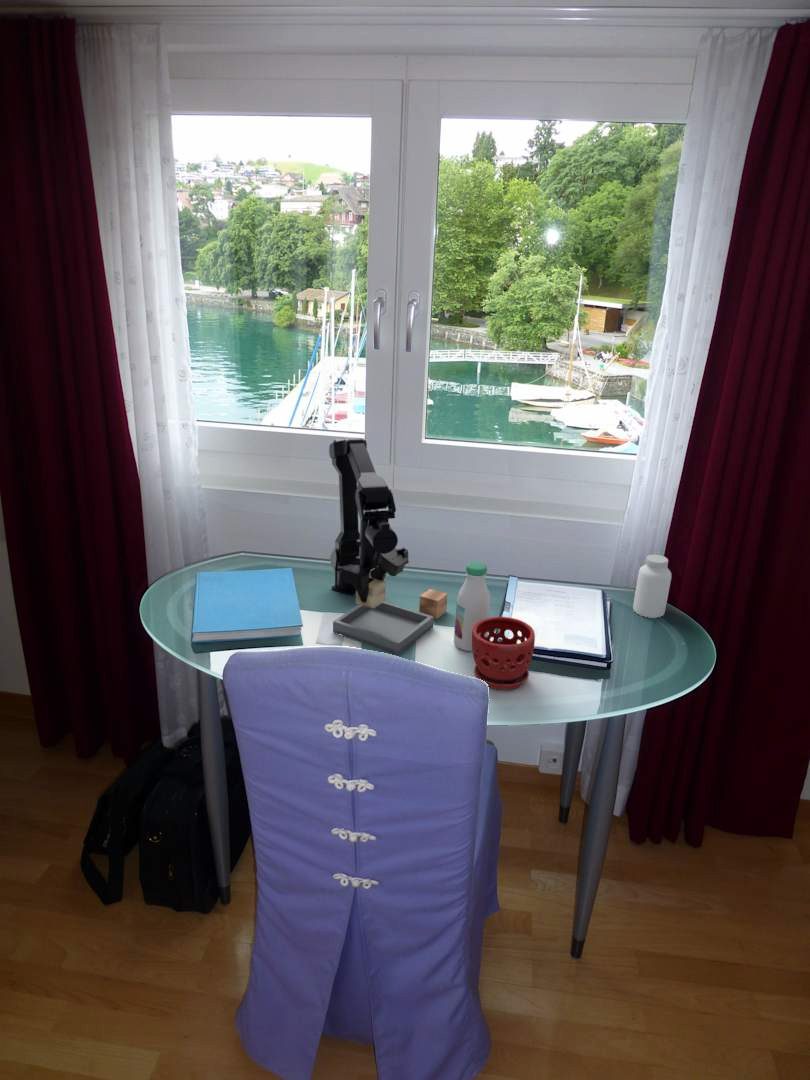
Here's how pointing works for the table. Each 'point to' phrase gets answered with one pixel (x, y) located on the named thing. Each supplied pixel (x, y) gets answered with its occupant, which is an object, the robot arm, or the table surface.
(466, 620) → the milk bottle
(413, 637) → the charcoal tray
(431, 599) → the terracotta block
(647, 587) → the pill bottle
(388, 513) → the robot arm
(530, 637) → the plant pot
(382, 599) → the birch block
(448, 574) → the table surface
